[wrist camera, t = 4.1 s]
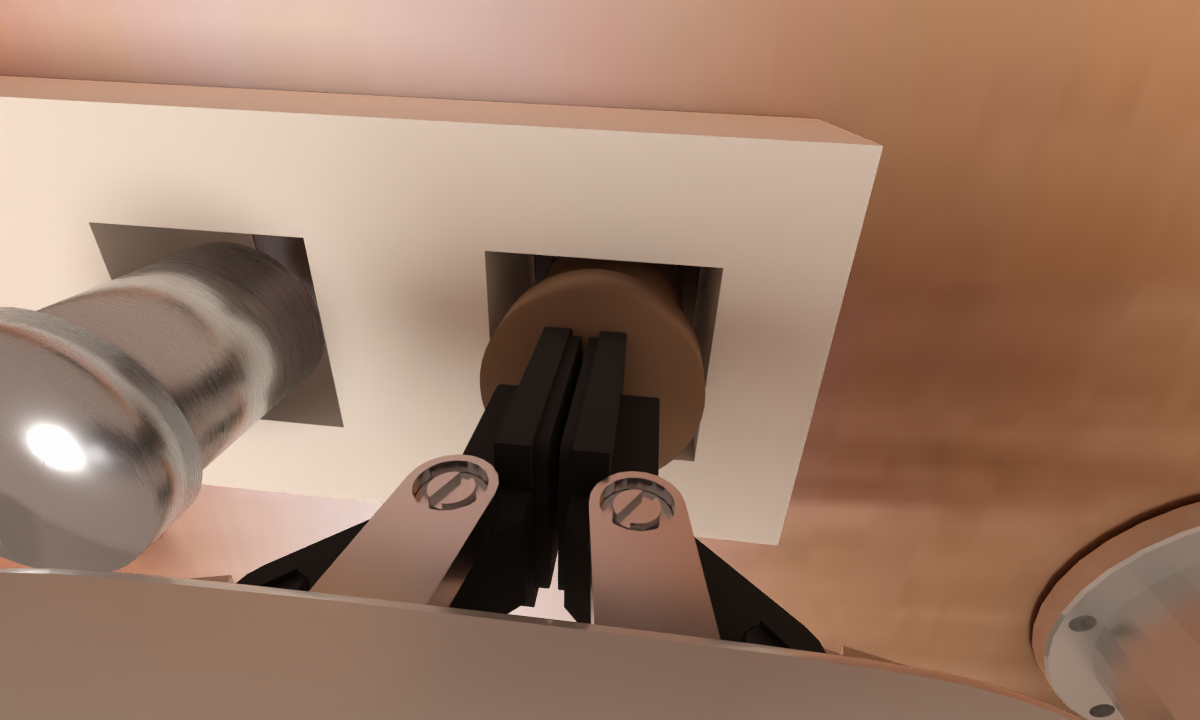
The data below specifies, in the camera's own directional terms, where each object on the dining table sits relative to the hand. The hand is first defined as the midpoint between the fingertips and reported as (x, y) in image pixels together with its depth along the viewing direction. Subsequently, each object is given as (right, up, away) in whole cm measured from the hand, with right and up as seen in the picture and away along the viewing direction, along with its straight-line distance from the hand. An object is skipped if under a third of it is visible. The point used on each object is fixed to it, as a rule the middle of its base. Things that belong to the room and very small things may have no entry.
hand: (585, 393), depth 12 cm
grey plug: (-9, +2, +3) cm, 9 cm away
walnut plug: (+1, +3, +5) cm, 6 cm away
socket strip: (-8, +4, +6) cm, 11 cm away
